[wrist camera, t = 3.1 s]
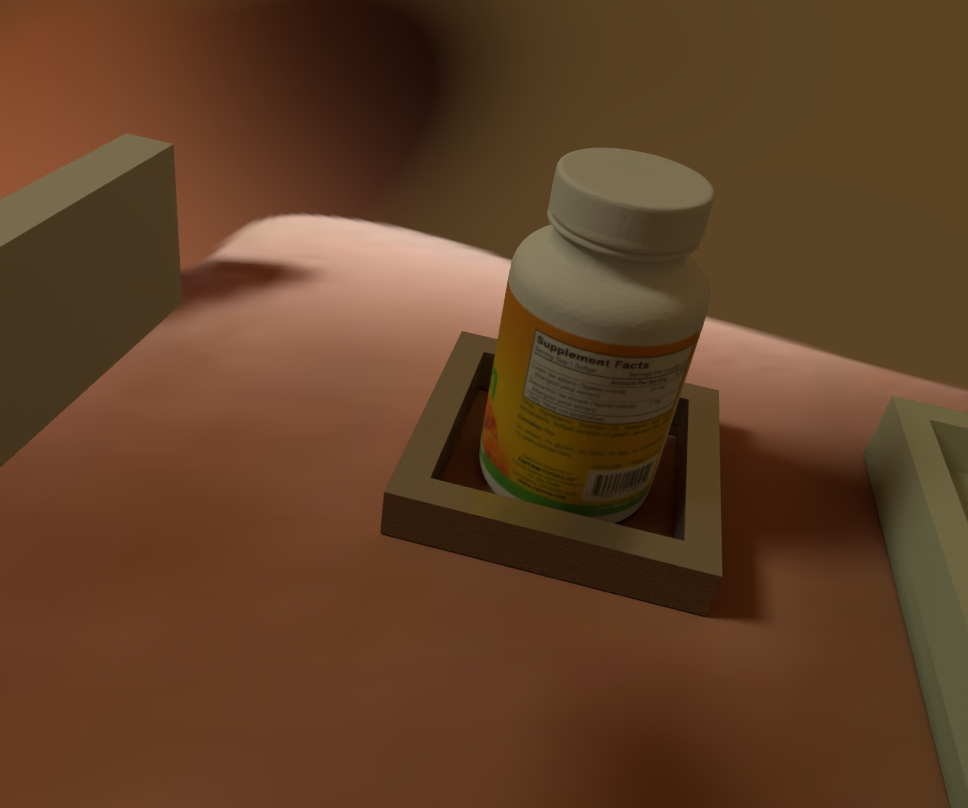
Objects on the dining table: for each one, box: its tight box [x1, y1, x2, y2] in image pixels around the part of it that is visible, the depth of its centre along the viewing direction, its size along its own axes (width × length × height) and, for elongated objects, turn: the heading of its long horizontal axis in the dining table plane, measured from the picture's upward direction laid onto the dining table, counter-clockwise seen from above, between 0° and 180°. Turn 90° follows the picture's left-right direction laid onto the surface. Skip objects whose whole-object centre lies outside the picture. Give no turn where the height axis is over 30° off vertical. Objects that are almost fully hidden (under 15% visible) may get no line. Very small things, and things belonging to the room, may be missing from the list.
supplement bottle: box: [479, 148, 714, 523], centre depth 24 cm, size 5×5×10 cm
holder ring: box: [380, 331, 722, 616], centre depth 27 cm, size 9×9×2 cm
